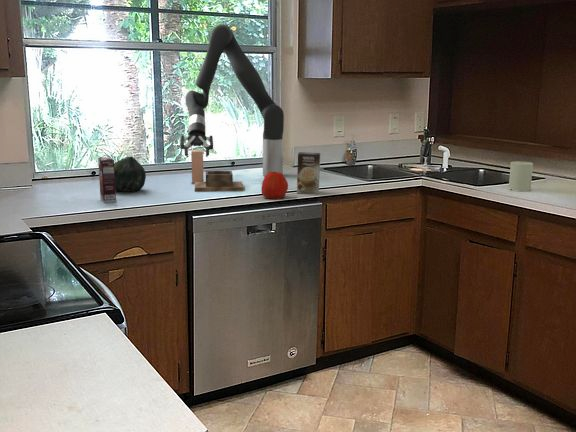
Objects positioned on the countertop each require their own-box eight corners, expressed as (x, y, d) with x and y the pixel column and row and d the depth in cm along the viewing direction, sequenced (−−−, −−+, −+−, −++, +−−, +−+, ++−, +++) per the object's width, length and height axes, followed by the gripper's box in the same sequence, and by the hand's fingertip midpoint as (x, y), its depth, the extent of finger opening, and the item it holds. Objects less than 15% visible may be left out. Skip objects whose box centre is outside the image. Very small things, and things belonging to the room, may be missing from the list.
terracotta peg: (203, 181, 283) (203, 150, 280) (203, 183, 279) (203, 151, 276) (192, 181, 283) (191, 150, 280) (191, 183, 278) (191, 151, 275)
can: (530, 188, 277) (533, 161, 274) (531, 192, 268) (533, 163, 265) (508, 187, 280) (510, 159, 277) (508, 190, 271) (510, 162, 268)
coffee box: (296, 193, 259) (296, 153, 255) (297, 190, 265) (298, 152, 261) (318, 194, 258) (319, 154, 254) (319, 191, 264) (320, 152, 260)
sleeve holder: (241, 184, 277) (241, 169, 275) (243, 191, 262) (243, 175, 261) (195, 185, 274) (195, 170, 273) (194, 191, 260) (194, 175, 258)
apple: (291, 196, 252) (292, 170, 250) (280, 201, 243) (280, 173, 241) (268, 194, 256) (268, 168, 254) (256, 198, 247) (256, 171, 245)
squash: (104, 174, 264) (108, 150, 253) (141, 174, 270) (146, 150, 259) (108, 202, 257) (112, 178, 246) (146, 201, 263) (151, 177, 252)
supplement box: (99, 198, 243) (97, 157, 239) (112, 198, 245) (110, 156, 241) (103, 203, 235) (101, 160, 231) (116, 202, 237) (114, 159, 233)
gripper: (180, 121, 283) (180, 150, 275) (212, 121, 285) (213, 150, 277) (181, 132, 290) (180, 160, 281) (212, 132, 291) (213, 160, 283)
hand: (196, 155), depth 279 cm, fingers open, 8 cm apart
